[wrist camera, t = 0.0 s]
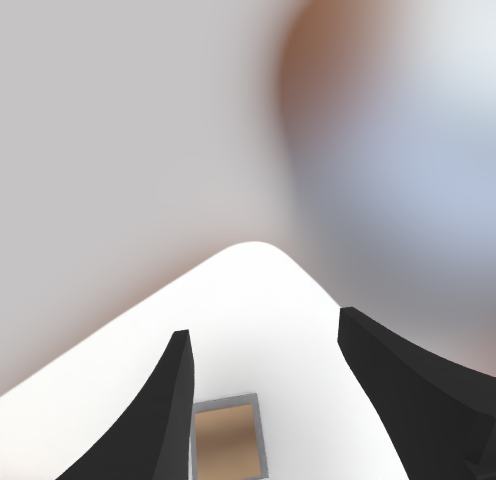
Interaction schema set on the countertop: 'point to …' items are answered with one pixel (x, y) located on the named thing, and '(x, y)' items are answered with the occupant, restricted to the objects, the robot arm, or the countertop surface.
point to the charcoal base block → (228, 403)
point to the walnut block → (226, 444)
